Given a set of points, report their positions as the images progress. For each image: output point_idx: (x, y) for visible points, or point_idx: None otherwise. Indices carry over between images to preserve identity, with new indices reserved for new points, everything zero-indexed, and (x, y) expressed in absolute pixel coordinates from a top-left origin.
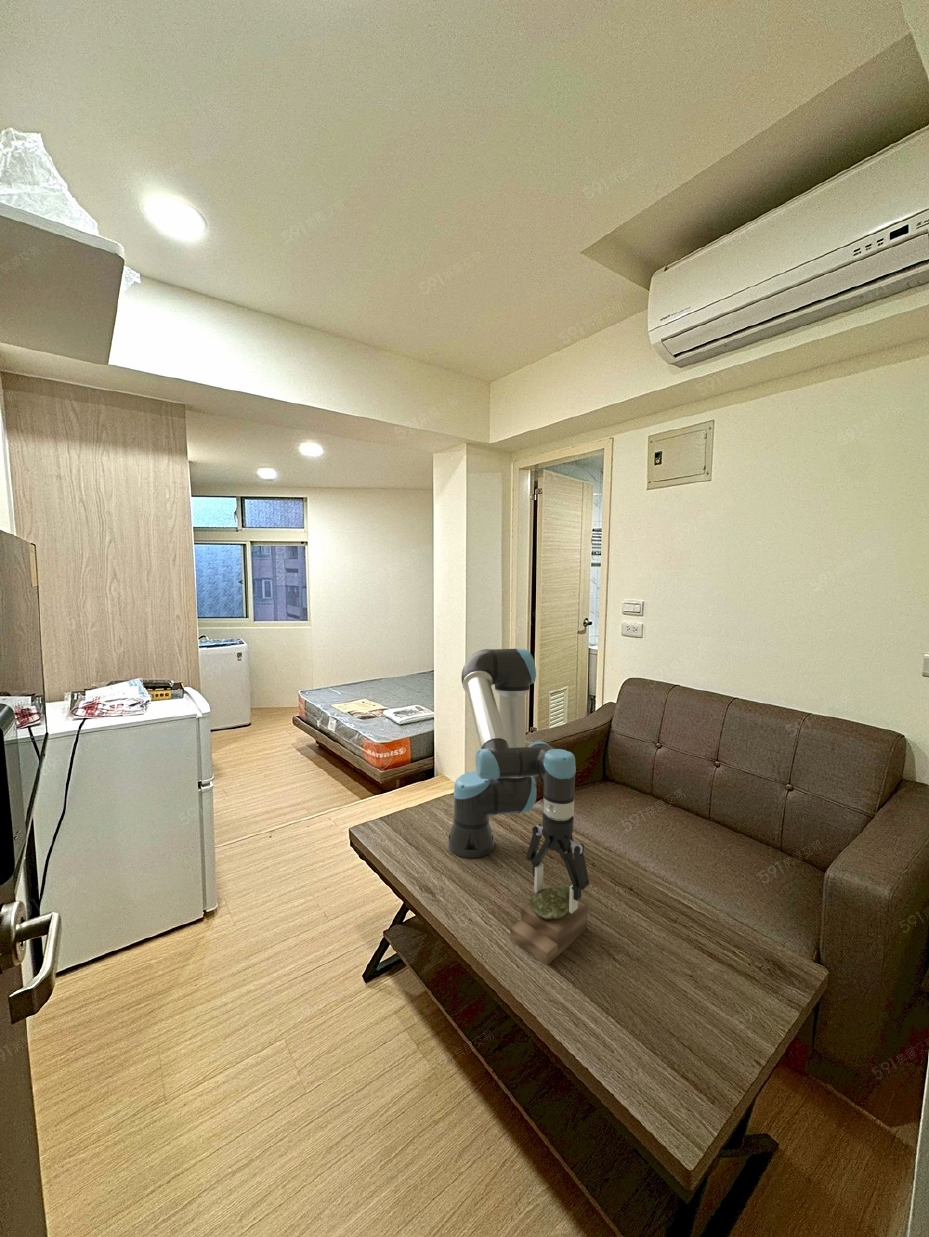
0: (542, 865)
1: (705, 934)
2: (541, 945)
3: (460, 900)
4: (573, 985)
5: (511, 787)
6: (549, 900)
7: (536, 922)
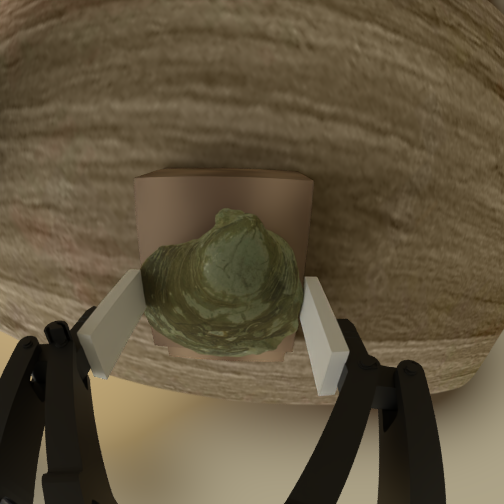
0: (94, 342)
1: (480, 39)
2: (259, 354)
3: (43, 311)
4: None
5: None
6: (220, 341)
7: None
